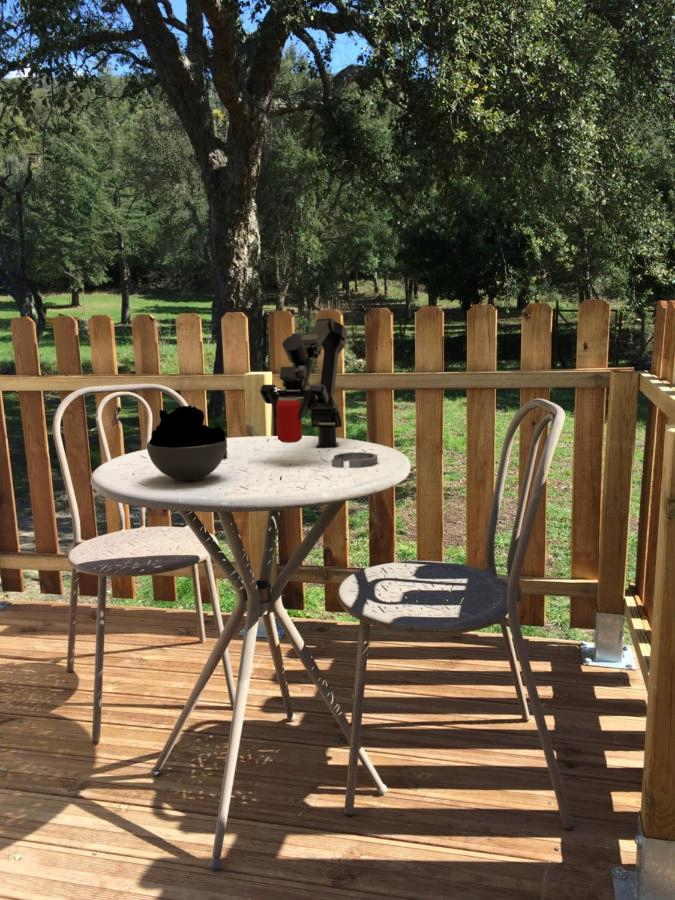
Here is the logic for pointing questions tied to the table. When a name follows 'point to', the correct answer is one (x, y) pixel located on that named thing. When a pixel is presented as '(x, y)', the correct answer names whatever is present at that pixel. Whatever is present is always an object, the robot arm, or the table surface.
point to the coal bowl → (186, 445)
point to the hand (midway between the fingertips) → (287, 418)
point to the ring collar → (355, 459)
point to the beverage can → (289, 420)
